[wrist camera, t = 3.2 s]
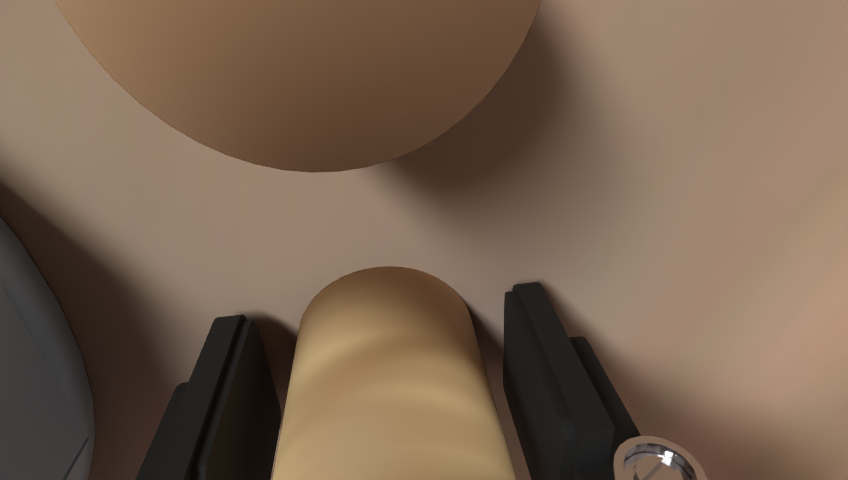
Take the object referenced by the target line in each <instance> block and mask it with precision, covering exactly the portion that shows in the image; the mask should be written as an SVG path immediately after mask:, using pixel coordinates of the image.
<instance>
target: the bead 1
mask: <svg viewBox="0 0 848 480" xmlns="http://www.w3.org/2000/svg"><path fill="white" fill-rule="evenodd" d="M54 1H55V3H56V4H57V6H58V8H59V9H60V11H61V13H62V15H63V16H64V18H65V20H66V21H67V22H68V24H69V25H70V27H71V28H72V29H73V31H74V32H75V33H76V35H77V36H78V38H79V39H80V40H81V42H82V43H83V44H84V46H85V47H86V49H87V50H88V51H89V52H90V54H91V55H92V56H93V57H94V58H95V59H96V60H97V61H98V63H99V64H100V65H101V66H102V67H103V68H104V69H105V70H106V71H107V73H108V74H109V75H110V76H111V77H112V78H113V79H114V80H115V81H116V82H117V83H118V84H119V85H120V86H121V87H122V88H123V89H125V90H126V91H127V92H128V93H129V94H130V95H131V96H132V97H133V98H134V99H135V100H137V101H138V102H139V103H140V104H141V105H142V106H144V107H145V108H146V109H148V110H149V111H150V112H152V113H153V114H154V115H156V116H157V117H159V118H160V119H161V120H163V121H164V122H165V123H167V124H168V125H170V126H171V127H173V128H175V129H176V130H178V131H180V132H181V133H183V134H185V135H187V136H188V137H190V138H192V139H193V140H195V141H197V142H199V143H201V144H203V145H205V146H208V147H210V148H212V149H214V150H216V151H219V152H221V153H223V154H225V155H228V156H231V157H234V158H237V159H240V160H244V161H247V162H250V163H253V164H257V165H261V166H266V167H271V168H276V169H281V170H290V171H302V172H335V171H345V170H351V169H357V168H364V167H369V166H372V165H375V164H379V163H382V162H386V161H389V160H393V159H395V158H397V157H400V156H402V155H404V154H407V153H409V152H411V151H414V150H416V149H418V148H420V147H422V146H423V145H425V144H427V143H429V142H430V141H432V140H434V139H435V138H437V137H439V136H440V135H442V134H443V133H445V132H446V131H447V130H449V129H450V128H451V127H453V126H454V125H455V124H456V123H458V122H459V121H460V120H462V119H463V118H464V117H465V116H466V115H467V114H468V113H469V112H470V111H472V110H473V109H474V108H475V107H476V106H477V105H478V104H479V103H480V102H481V101H482V100H483V99H484V98H485V97H486V96H487V94H488V93H489V92H490V91H491V89H492V88H493V87H494V86H495V84H496V83H497V82H498V80H499V79H500V78H501V77H502V75H503V74H504V73H505V72H506V70H507V68H508V67H509V65H510V63H511V62H512V60H513V59H514V57H515V55H516V54H517V52H518V51H519V49H520V47H521V46H522V44H523V42H524V40H525V37H526V35H527V33H528V31H529V29H530V27H531V25H532V23H533V20H534V18H535V16H536V14H537V11H538V8H539V5H540V2H541V0H54Z"/></svg>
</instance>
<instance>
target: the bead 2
mask: <svg viewBox="0 0 848 480" xmlns="http://www.w3.org/2000/svg"><path fill="white" fill-rule="evenodd" d="M272 480H516V476H515V473H514V469H513V466H512V462H511V459H510V455H509V451H508V448H507V444H506V441H505V437H504V434H503V430H502V427H501V423H500V420H499V416H498V412H497V409H496V405H495V402H494V398H493V395H492V391H491V388H490V384H489V381H488V377H487V374H486V370H485V366H484V363H483V359H482V356H481V352H480V349H479V345H478V342H477V338H476V335H475V331H474V327H473V324H472V320H471V317H470V313H469V311H468V309H467V307H466V304H465V303H464V301H463V300H462V299H461V297H460V296H459V295H458V294H457V293H456V292H455V291H454V289H452V288H451V287H450V286H449V285H447V284H446V283H445V282H443V281H441V280H440V279H438V278H436V277H434V276H432V275H430V274H427V273H425V272H422V271H418V270H415V269H410V268H404V267H375V268H369V269H364V270H360V271H357V272H353V273H351V274H348V275H346V276H343V277H341V278H339V279H338V280H336V281H334V282H332V283H331V284H329V285H328V286H327V287H325V288H324V289H323V290H322V291H320V292H319V293H318V294H317V295H316V296H315V297H314V299H313V300H312V301H311V302H310V304H309V305H308V307H307V309H306V310H305V312H304V314H303V317H302V319H301V322H300V327H299V332H298V337H297V343H296V349H295V354H294V360H293V366H292V371H291V377H290V383H289V388H288V394H287V400H286V405H285V411H284V416H283V422H282V428H281V433H280V439H279V445H278V450H277V456H276V462H275V467H274V473H273V479H272Z"/></svg>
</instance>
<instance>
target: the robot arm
mask: <svg viewBox="0 0 848 480" xmlns="http://www.w3.org/2000/svg"><path fill="white" fill-rule="evenodd" d="M503 385H504V391H505V395H506V398H507V402H508V405H509V408H510V411H511V415H512V418H513V421H514V424H515V427H516V431H517V434H518V437H519V440H520V444H521V447H522V450H523V453H524V456H525V460H526V463H527V466H528V469H529V473H530V476H531V479H532V480H708V479H707V477H706V475H705V472H704V470H703V468H702V466H701V465H700V464H699V463H698V461H697V460H696V459H695V458H694V457H693V455H691V454H690V453H689V452H687V451H686V450H685V449H684V448H682V447H681V446H679V445H677V444H675V443H673V442H671V441H669V440H667V439H663V438H659V437H655V436H641V435H640V433H639V431H638V430H637V428H636V426H635V424H634V423H633V421H632V419H631V417H630V415H629V414H628V412H627V410H626V408H625V407H624V405H623V403H622V401H621V399H620V398H619V396H618V394H617V392H616V391H615V389H614V387H613V385H612V383H611V382H610V380H609V378H608V376H607V375H606V373H605V371H604V369H603V367H602V366H601V364H600V362H599V360H598V359H597V357H596V355H595V353H594V351H593V350H592V348H591V346H590V344H589V343H588V341H587V340H586V339H585V338H584V337H582V336H581V337H573V338H568V336H567V334H566V332H565V330H564V328H563V326H562V324H561V322H560V320H559V318H558V316H557V314H556V313H555V311H554V309H553V307H552V305H551V303H550V301H549V299H548V297H547V295H546V293H545V291H544V289H543V287H542V286H541V284H540V283H539V282H534V283H525V284H516V285H514V286H513V291H512V292H506V293H505V302H504V354H503ZM280 423H281V409H280V404H279V401H278V397H277V394H276V391H275V387H274V384H273V380H272V377H271V374H270V370H269V367H268V363H267V360H266V357H265V353H264V350H263V346H262V343H261V340H260V336H259V333H258V330H257V326H256V323H255V322H254V321H253V320H251V321H247V319H246V317H245V316H244V315H235V316H226V317H217V318H216V319H215V320H214V322H213V324H212V326H211V329H210V331H209V334H208V336H207V339H206V341H205V343H204V346H203V348H202V351H201V353H200V356H199V358H198V360H197V363H196V365H195V368H194V370H193V373H192V375H191V378H190V380H189V382H187V383H181V384H180V385H178V386H177V388H176V389H175V391H174V393H173V395H172V397H171V400H170V402H169V404H168V407H167V409H166V411H165V413H164V416H163V418H162V420H161V423H160V425H159V427H158V430H157V432H156V434H155V436H154V439H153V441H152V443H151V446H150V448H149V450H148V452H147V455H146V457H145V459H144V462H143V464H142V466H141V469H140V471H139V473H138V475H137V478H136V480H270V478H271V473H272V467H273V462H274V456H275V451H276V445H277V440H278V434H279V429H280Z"/></svg>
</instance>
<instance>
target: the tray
mask: <svg viewBox="0 0 848 480" xmlns="http://www.w3.org/2000/svg"><path fill="white" fill-rule="evenodd" d="M94 443H95V426H94V409H93V397H92V393H91V389H90V385H89V382H88V378H87V374H86V370H85V366H84V362H83V358H82V354H81V352H80V349H79V347H78V345H77V343H76V340H75V338H74V336H73V334H72V331H71V329H70V327H69V325H68V322H67V320H66V318H65V316H64V313H63V311H62V309H61V307H60V304H59V302H58V301H57V299H56V297H55V296H54V294H53V292H52V291H51V289H50V288H49V286H48V284H47V283H46V281H45V280H44V278H43V276H42V275H41V273H40V272H39V270H38V268H37V267H36V265H35V264H34V262H33V260H32V259H31V257H30V255H29V254H28V252H27V251H26V249H25V247H24V246H23V244H22V243H21V242H20V241H19V239H18V238H17V237H16V236H15V234H14V233H13V232H12V231H11V229H10V228H9V227H8V226H7V224H6V223H5V222H4V221H3V219H2V218H1V217H0V480H87V479H88V477H89V474H90V468H91V462H92V456H93V450H94Z"/></svg>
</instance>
